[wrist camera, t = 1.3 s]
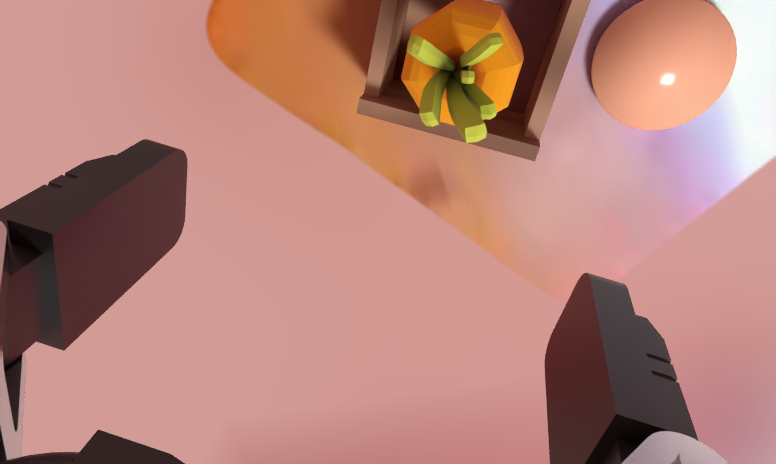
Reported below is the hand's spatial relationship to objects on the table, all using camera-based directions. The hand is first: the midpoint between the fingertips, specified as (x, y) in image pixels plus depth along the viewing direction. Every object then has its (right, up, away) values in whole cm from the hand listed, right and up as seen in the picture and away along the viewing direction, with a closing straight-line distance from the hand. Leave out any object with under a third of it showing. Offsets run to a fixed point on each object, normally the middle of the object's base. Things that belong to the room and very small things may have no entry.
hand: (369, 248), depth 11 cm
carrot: (+5, +12, +20) cm, 24 cm away
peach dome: (+15, +9, +19) cm, 26 cm away
